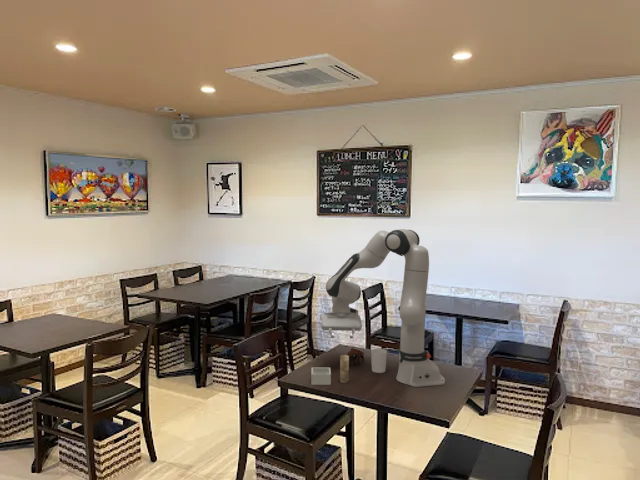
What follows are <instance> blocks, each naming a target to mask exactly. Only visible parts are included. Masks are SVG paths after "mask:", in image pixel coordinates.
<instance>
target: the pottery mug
mask: <svg viewBox="0 0 640 480" xmlns="http://www.w3.org/2000/svg"><path fill="white" fill-rule="evenodd" d="M364 354H365V353H364V352H363V351H362V350H359V349H357V348H350V350H349V351H347V355H348V356H349V365H352V366H353V365H354V364H357V365H358V364H359V362H360V360H361V361H362V362H364V361H365V356H364Z"/></svg>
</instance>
